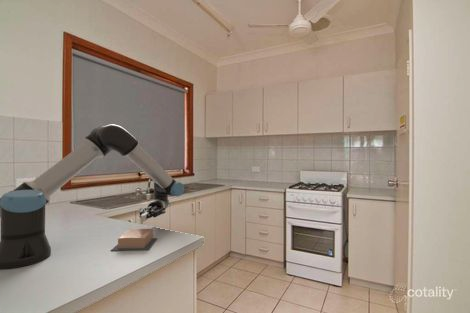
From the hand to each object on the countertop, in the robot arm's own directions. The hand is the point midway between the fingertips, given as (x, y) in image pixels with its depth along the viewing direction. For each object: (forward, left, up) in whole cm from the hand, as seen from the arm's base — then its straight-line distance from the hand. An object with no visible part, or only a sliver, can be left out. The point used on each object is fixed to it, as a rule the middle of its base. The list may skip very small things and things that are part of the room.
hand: (142, 218), depth 104 cm
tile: (0, +1, -7) cm, 7 cm away
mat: (-7, +1, -9) cm, 11 cm away
